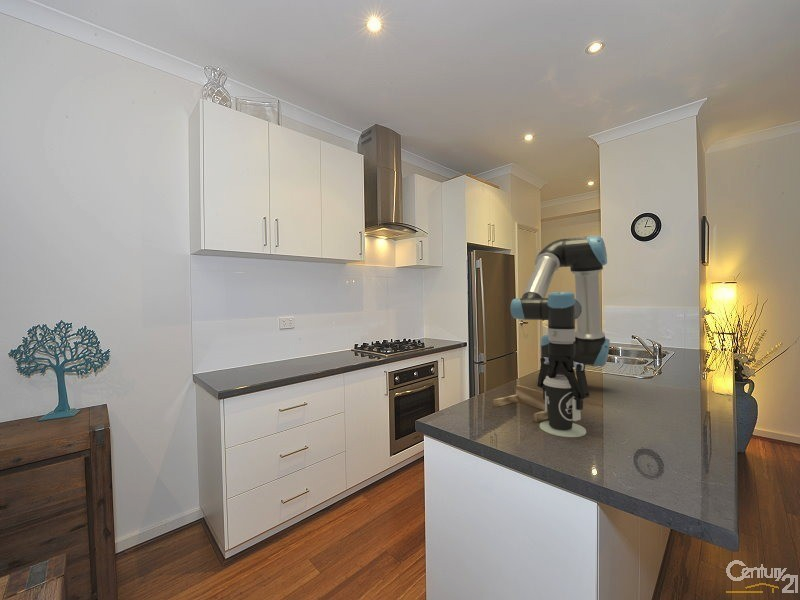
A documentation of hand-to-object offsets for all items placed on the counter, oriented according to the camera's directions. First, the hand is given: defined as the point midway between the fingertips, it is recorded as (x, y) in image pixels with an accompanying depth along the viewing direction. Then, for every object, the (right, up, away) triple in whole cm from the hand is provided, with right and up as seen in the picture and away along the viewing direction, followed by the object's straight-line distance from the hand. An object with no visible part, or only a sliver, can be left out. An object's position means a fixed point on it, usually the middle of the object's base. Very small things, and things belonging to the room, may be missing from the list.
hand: (562, 415), depth 107 cm
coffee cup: (0, -4, +1) cm, 4 cm away
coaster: (0, -4, 0) cm, 4 cm away
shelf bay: (-5, -4, +17) cm, 18 cm away
